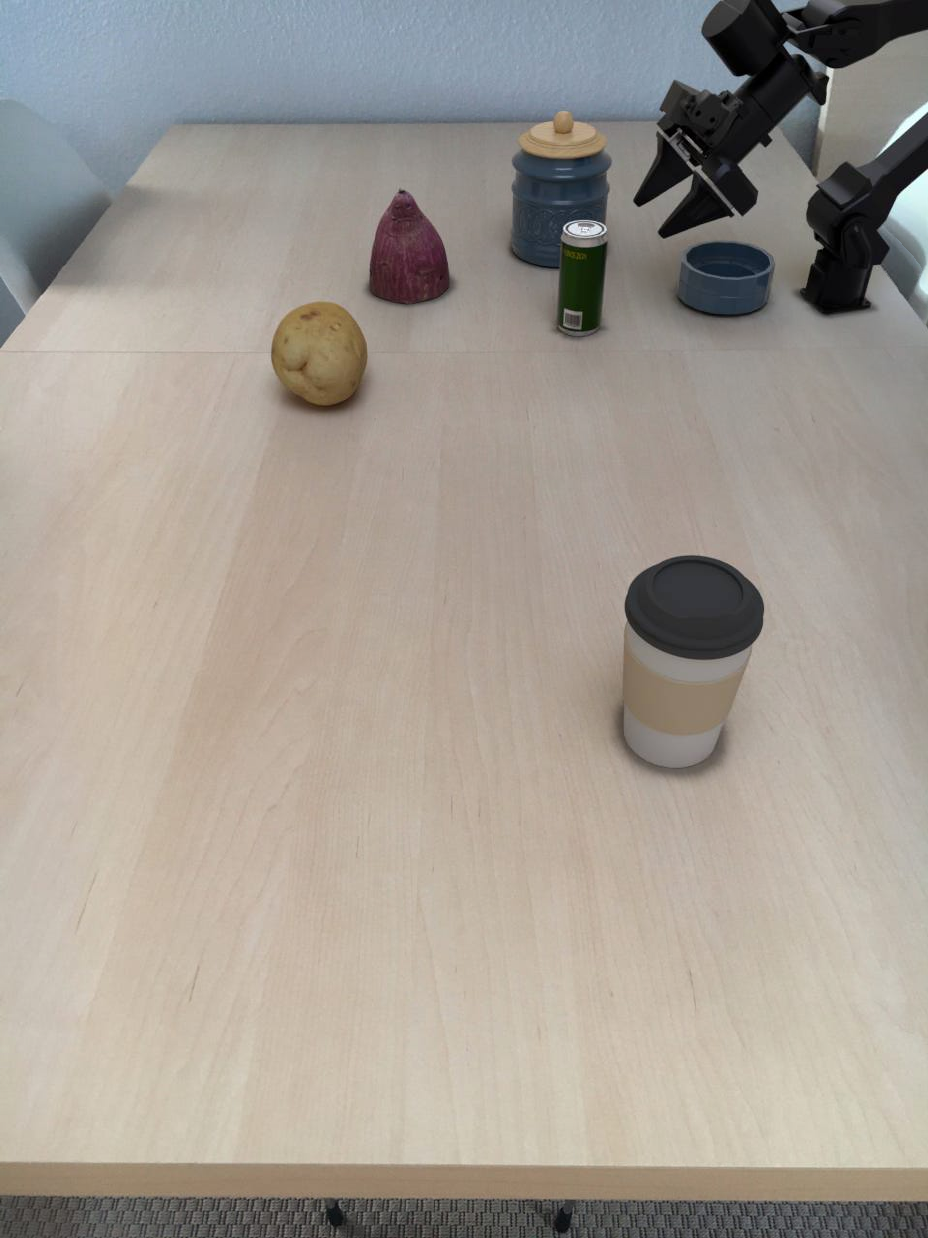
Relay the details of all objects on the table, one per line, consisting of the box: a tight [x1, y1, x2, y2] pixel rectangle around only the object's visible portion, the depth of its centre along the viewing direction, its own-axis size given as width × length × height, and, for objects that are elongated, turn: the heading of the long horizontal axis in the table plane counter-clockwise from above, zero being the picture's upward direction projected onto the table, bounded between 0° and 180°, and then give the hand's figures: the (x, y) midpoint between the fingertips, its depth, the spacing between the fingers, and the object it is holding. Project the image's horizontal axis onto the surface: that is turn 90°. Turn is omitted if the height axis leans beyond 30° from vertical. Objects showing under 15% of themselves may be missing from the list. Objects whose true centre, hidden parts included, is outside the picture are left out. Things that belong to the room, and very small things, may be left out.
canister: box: [510, 110, 613, 268], centre depth 130 cm, size 13×13×18 cm
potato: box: [270, 301, 369, 406], centre depth 107 cm, size 10×12×10 cm
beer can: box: [556, 220, 609, 337], centre depth 116 cm, size 5×5×12 cm
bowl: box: [676, 239, 776, 315], centre depth 123 cm, size 11×11×5 cm
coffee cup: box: [622, 554, 765, 769], centre depth 69 cm, size 9×9×15 cm
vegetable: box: [368, 187, 451, 305], centre depth 124 cm, size 10×10×15 cm
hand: (647, 219), depth 113 cm, fingers open, 9 cm apart
